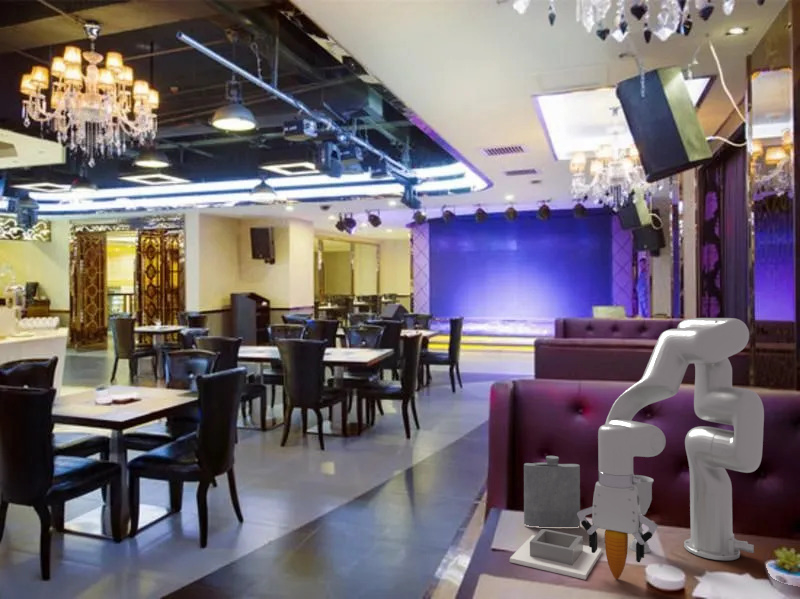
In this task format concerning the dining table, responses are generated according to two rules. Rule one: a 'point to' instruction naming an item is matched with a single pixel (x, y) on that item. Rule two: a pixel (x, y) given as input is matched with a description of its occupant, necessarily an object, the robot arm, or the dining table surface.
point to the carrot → (616, 551)
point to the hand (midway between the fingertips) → (616, 555)
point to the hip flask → (551, 494)
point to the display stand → (557, 554)
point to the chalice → (643, 504)
